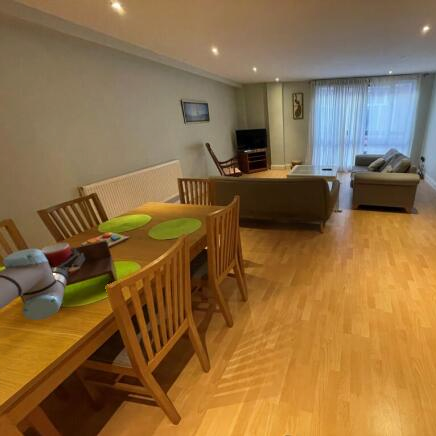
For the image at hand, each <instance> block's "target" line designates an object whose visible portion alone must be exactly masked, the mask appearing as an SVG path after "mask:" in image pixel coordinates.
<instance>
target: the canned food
mask: <svg viewBox="0 0 436 436" xmlns="http://www.w3.org/2000/svg"><path fill="white" fill-rule="evenodd" d="M70 248H71V247H70V244H69V243H68V242H58V243H53V244H50V245H48V246H45V247H42V249H40V250H41V251H42V252H43V254H44V255H45V257H46V259H47V260H48V263H49V266H50V268H52V267H56V266H59V265H60V264H61V263H64V262H66V261H67V260H68V259H69V258H70V257H72V256H71V253H72V251H71V249H70ZM75 271H76V270H73V271H71V272H70V273H69V274H72V273H73V272H75ZM69 274H68V275H69Z"/></svg>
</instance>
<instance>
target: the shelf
mask: <svg viewBox="0 0 436 436" xmlns="http://www.w3.org/2000/svg"><path fill="white" fill-rule="evenodd" d="M73 248H76V250H77V252H79V254H81V253H83V254H84V257H85V260H84V262H83V264H82V265H81V267H80V269H81V270H80V271H75V272H73V273H72V274H69V275H68V279H67V283H66V287H68V286H71V285H76V284H79V283H82V282H86V281H89V280H93V279H96V278H100V277H104V276H107V275H108V276H109V279H110V283H112V282H114V281H117V282H118V274H117V273H118V272H117V267H116V264H115V262H114V260H113V259H114V258H113V256H112V252H111V249H110V247H108V244H107V241H106V240H104V241H99V242H95V243H90V244H86V245H81V244H80V245H77V246H73V247H70V249H71V251H72V250H73ZM116 272H117V273H116ZM19 297H20V300H21V301H22V302H23V304H24V303H25V302H24V300H23V298H22V296H19Z"/></svg>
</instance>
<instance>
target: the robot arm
mask: <svg viewBox="0 0 436 436" xmlns="http://www.w3.org/2000/svg"><path fill="white" fill-rule="evenodd" d="M41 250H42V249H39V248H26V249H21V250H18V251H14V252H12V253H9V254H8V255H6V256H5V257H4V258H3V260H2V263H3V267H4V268H3V269H2V270H0V311H1V310H2V309H4V308H6V306H8V305H10V304H11V303H12V302H14V301H15V300H17V299H18V298H19V297H20V296H22V298H23V300H24V302H25V303H23V305H22V311H21V312H22V315H23V316H24V317H25V318H26V319H29V320H31V321H43V320H46V319H49V318H51V317H53V316H55V315H56V313H58V312H59V310H60V308H61V306H62V304H63V299H64V294H65V290H66V288H67V286H66V283H67V279H68V274H69V273H70V272H71V271H73V270H76V271H80V270H81V269H80V267H81V265H82V264H83V262H84V260H85V257H84V254H83V253H81V254H79V252H77V250H76V248H73V250H72V253H71V256H72V257H70V258H69V259H68V260H67V261H66V262H64V263H61V264H60V265H59V266H56V267H52V268H50V266H49V263H48V260H47V259H46V257H45V255H44V254H43V252H42V251H41Z"/></svg>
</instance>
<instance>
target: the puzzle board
mask: <svg viewBox="0 0 436 436" xmlns="http://www.w3.org/2000/svg"><path fill="white" fill-rule="evenodd" d="M128 239H130V236H129V235H127V236H126V235H122V234H120V233H117V232H116V233H115V232H112V231H109V232H105V233H102V235H99V236H97V237H92V238H90V239H87V240H86V241H84V242H82V243H80V246H81V245H86V244H90V243H95V242H99V241H104V240H106V241H107V244H108V247H109V248H111V247H112V246H115V245H117V244H119V243H121V242H123V241H126V240H128Z"/></svg>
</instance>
